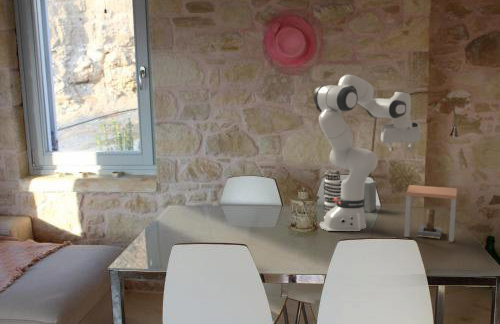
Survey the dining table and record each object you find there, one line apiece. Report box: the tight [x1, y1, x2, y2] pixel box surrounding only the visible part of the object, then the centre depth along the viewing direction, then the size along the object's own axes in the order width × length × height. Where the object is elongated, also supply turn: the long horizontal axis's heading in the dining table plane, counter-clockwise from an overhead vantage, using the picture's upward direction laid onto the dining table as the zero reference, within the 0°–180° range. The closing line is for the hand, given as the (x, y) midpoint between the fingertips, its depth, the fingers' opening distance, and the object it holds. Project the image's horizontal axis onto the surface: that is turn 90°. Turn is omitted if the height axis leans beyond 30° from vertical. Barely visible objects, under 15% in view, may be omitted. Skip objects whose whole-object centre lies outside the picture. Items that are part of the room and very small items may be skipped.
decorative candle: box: [323, 168, 343, 219], centre depth 274 cm, size 9×9×25 cm
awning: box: [403, 184, 458, 241], centre depth 244 cm, size 15×21×22 cm
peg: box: [425, 208, 436, 232], centre depth 246 cm, size 4×4×12 cm
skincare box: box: [364, 180, 377, 213], centre depth 289 cm, size 8×7×16 cm
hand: (400, 150), depth 274 cm, fingers open, 8 cm apart
